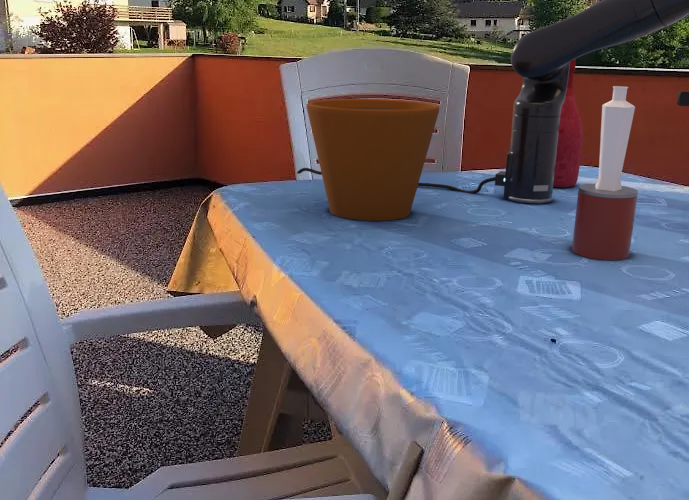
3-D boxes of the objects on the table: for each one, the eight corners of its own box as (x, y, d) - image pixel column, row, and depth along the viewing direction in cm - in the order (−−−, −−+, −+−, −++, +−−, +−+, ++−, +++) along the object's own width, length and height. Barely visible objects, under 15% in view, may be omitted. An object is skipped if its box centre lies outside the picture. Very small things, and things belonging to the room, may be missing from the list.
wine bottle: (580, 183, 165) (595, 49, 157) (574, 190, 157) (590, 49, 148) (537, 179, 169) (549, 48, 161) (529, 186, 160) (542, 48, 152)
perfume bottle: (627, 192, 104) (640, 88, 100) (595, 190, 105) (608, 87, 101) (621, 186, 108) (634, 86, 104) (591, 185, 109) (603, 85, 105)
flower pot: (288, 221, 125) (287, 105, 119) (327, 195, 147) (328, 96, 141) (421, 232, 119) (428, 111, 113) (441, 203, 141) (447, 101, 135)
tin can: (567, 255, 108) (575, 190, 105) (576, 242, 115) (583, 181, 112) (626, 263, 104) (635, 196, 101) (631, 249, 111) (639, 186, 109)
